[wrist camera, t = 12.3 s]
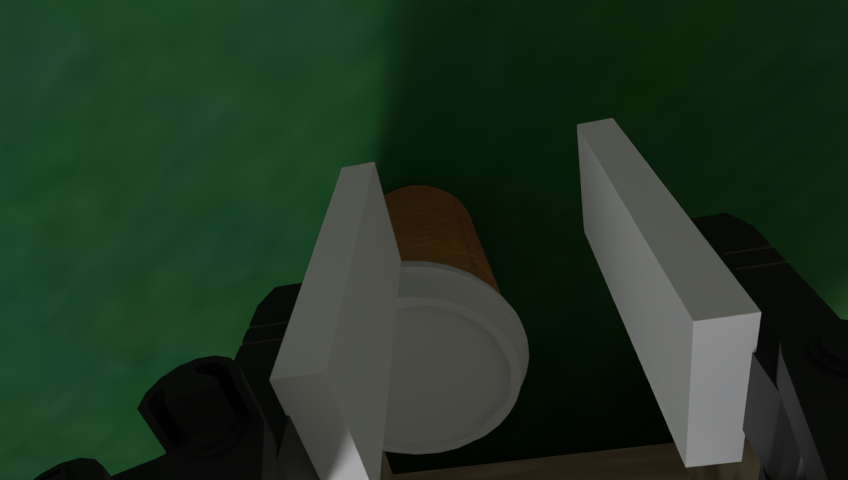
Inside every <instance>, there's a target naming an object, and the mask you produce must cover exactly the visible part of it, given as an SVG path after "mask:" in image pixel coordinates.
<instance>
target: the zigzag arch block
mask: <svg viewBox="0 0 848 480" xmlns="http://www.w3.org/2000/svg"><path fill="white" fill-rule="evenodd" d="M760 465H761V462H760V460H759V458H758V457H757V455H756V453H755V451H754V450H753V448H752V446H751V444H750V443H749V441H748V439H747V437H746V435H745V439H744V446H743V454H742V461H741V462H731V463H722V464H713V465H704V466H694V467H685V465H684V463H683V460H682V458H681V456H680V453H679V451H678V449H677V446H676V444H675V443H666V444H657V445H648V446H640V447H631V448H622V449H613V450H604V451H596V452H587V453H578V454H569V455H560V456H552V457H543V458H534V459H525V460H517V461H508V462H499V463H490V464H481V465H473V466H464V467H455V468H446V469H437V470H429V471H420V472H411V473H402V474H393V473H392V471H391V468H390V465H389V462H388V460H387V457H386V454H385V452H384V450H383V451H382V461H381V472H380V480H758V478H759V472H760Z"/></svg>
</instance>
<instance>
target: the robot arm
mask: <svg viewBox="0 0 848 480" xmlns="http://www.w3.org/2000/svg"><path fill="white" fill-rule="evenodd" d="M577 135H578V149H579V164H580V179H581V193H582V208H583V223H584V232H585V234H586V237H587V239H588V241H589V244H590V246H591V248H592V251H593V253H594V255H595V258H596V260H597V262H598V265H599V267H600V269H601V272H602V274H603V276H604V279H605V281H606V283H607V286H608V288H609V290H610V293H611V295H612V297H613V299H614V302H615V304H616V306H617V309H618V311H619V313H620V316H621V318H622V320H623V323H624V325H625V327H626V330H627V332H628V334H629V337H630V339H631V341H632V344H633V346H634V348H635V351H636V353H637V355H638V358H639V360H640V362H641V365H642V367H643V369H644V372H645V374H646V376H647V379H648V381H649V383H650V386H651V388H652V390H653V393H654V395H655V397H656V400H657V402H658V404H659V407H660V409H661V411H662V414H663V416H664V418H665V421H666V423H667V425H668V428H669V430H670V432H671V435H672V437H673V439H674V442H675V444H676V446H677V449H678V451H679V453H680V456H681V458H682V460H683V463H684V465H685V467H694V466H704V465H713V464H722V463H731V462H741V461H742V454H743V446H744V439H745V435H746V437H747V439H748V441H749V443H750V444H751V446H752V448H753V450H754V451H755V453H756V455H757V457H758V458H759V460H760V462H761V465H760V472H759V478H758V480H848V320H843V319H840V318H839V317H838V316H837V315H836V314H835V313H834V312H833V310H832V309H831V308H830V307H829V306H828V305H827V304H826V303H825V302H824V301H823V300H822V299H821V298H820V297H819V296H818V294H817V293H816V292H815V291H814V290H813V289H812V288H811V287H810V286H809V285H808V284H807V283H806V282H805V281H804V280H803V278H802V277H801V276H800V275H799V274H798V273H797V272H796V271H795V270H794V269H793V268H792V267H791V266H790V265H789V264H788V263H787V264H786V263H785V259H784V258H783V257H782V256H781V255H780V254H779V253H778V252H777V251H776V250H775V249H774V248H771V246H770V243H769V242H768V241H767V240H766V239H765V238H764V237H763V236H762V235H761V234H760V233H759V232H758V231H757V229H756V228H755V227H754V226H752V225H750V224H748V223H746V222H744V221H742V220H740V219H738V218H736V217H734V216H732V215H730V214H727V213H723V214H717V215H711V216H705V217H698V218H692V219H690V218H689V217H688V216H687V214H686V213H685V212H684V210H683V209H682V208H681V207H680V205H679V204H678V203H677V201H676V200H675V199H674V197H673V196H672V195H671V193H670V192H669V191H668V190H667V188H666V187H665V186H664V184H663V183H662V182H661V180H660V179H659V178H658V177H657V175H656V174H655V173H654V171H653V170H652V169H651V167H650V166H649V165H648V163H647V162H646V161H645V160H644V158H643V157H642V156H641V154H640V153H639V152H638V150H637V149H636V148H635V147H634V145H633V144H632V143H631V141H630V140H629V139H628V137H627V136H626V135H625V133H624V132H623V131H622V130H621V128H620V127H619V126H618V124H617V123H616V122H615V120H614V119H613V118H609V119H604V120H598V121H593V122H588V123H582V124H577ZM400 267H401V258H400V254H399V251H398V247H397V243H396V240H395V236H394V232H393V229H392V225H391V221H390V218H389V214H388V210H387V207H386V203H385V199H384V196H383V192H382V188H381V185H380V181H379V177H378V174H377V170H376V166H375V163H374V162H371V163H365V164H360V165H354V166H349V167H343V168H342V169H341V172H340V175H339V178H338V181H337V184H336V187H335V190H334V193H333V196H332V199H331V201H330V204H329V207H328V210H327V213H326V216H325V219H324V222H323V225H322V228H321V231H320V234H319V236H318V239H317V242H316V245H315V248H314V251H313V254H312V257H311V260H310V263H309V266H308V269H307V271H306V274H305V277H304V280H303V283H298V284H292V285H285V286H279V287H275V288H274V289H273V290H272V291H271V292H270V293H269V294H268V295H267V296H266V298H265V299H264V300H263V301H262V302H261V303H260V304H259V305H258V306H257V309H256V311H255V313H254V316H253V318H252V320H251V322H250V325H249V327H250V329H248V330H247V332H246V334H245V336H244V339H243V341H242V343H243V345H242V346H240V348H239V350H238V353H237V355H236V357H235V360H234V361H233V360H232V359H231V358H228V357H222V356H209V357H204V358H198V359H195V360H193V361H190V362H188V363H185V364H183V365H181V366H178V367H177V368H175V369H174V370H172V371H171V372H169V373H168V374H166V375H165V376H163V377H162V378H160V379H159V380H158V381H157V382H156V383H155V384H154V385H153V386H152V387H151V388H150V389H149V390H148V391H147V393H146V394H145V396H144V397H143V399H142V401H141V403H140V405H139V407H138V408H137V409H138V411H139V412H140V414H141V415H142V417H143V418H144V420H145V421H146V423H147V424H148V426H149V427H150V429H151V430H152V432H153V433H154V435H155V436H156V437H157V439H158V440H159V442H160V443H161V445H162V446H163V448H164V449H165V451H166V454H164V455H162V456H160V457H158V458H156V459H154V460H151V461H149V462H146V463H143V464H141V465H138V466H136V467H133V468H131V469H128V470H126V471H123V472H121V473H118V474H116V475H113V476H110V474H109V473H108V472H107V470H106V469H105V468H104V467H103V466H102V465H101V464H100V463H99V462H97V461H96V460H95V459H86V458H78V459H74V460H71V461H67V462H63V463H60V464H58V465H57V466H55V467H53V468H51V469H49V470H47V471H45V472H43V473H42V474H40V475H39V476H37V477H36V478H35V479H34V480H380V472H381V461H382V451H383V441H384V431H385V420H386V410H387V400H388V390H389V380H390V369H391V359H392V349H393V339H394V329H395V318H396V308H397V298H398V288H399V277H400Z"/></svg>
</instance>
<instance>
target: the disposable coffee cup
mask: <svg viewBox="0 0 848 480" xmlns="http://www.w3.org/2000/svg"><path fill="white" fill-rule="evenodd" d="M384 199H385V203H386V207H387V210H388V214H389V218H390V221H391V225H392V229H393V232H394V236H395V240H396V243H397V247H398V251H399V254H400V258H401V267H400V277H399V288H398V298H397V308H396V318H395V329H394V339H393V349H392V359H391V369H390V380H389V390H388V400H387V410H386V420H385V431H384V441H383V450H384V451H387V452H396V453H405V454H415V455H416V454H429V453H440V452H444V451H448V450H453V449H457V448H459V447H461V446H464V445H466V444H468V443H470V442H473V441H475V440H477V439H479V438H482V437H484V436H485V435H487V434H488V433H489V432H490V431H492V430H493V429H494V428H496V427H497V426H498V425H499V424H500V423H501V422H502V421H503V420H504V419H505V418H506V416H507V415H508V414H509V413H510V411H511V410H512V408H513V406H514V404H515V402H516V400H517V397H518V394H519V391H520V387H521V385H522V383H523V381H524V378H525V375H526V372H527V367H528V361H529V349H528V340H527V336H526V333H525V331H524V328H523V325H522V323H521V321H520V319H519V317H518V315H517V313H516V312H515V311H514V309H513V308H512V307H511V306H510V305H509V304H508V302H507V301H506V300H505V299H504V298H503V297H502V296H501V293H500V291H499V288H498V286H497V283H496V281H495V278H494V276H493V274H492V271H491V268H490V266H489V263H488V261H487V258H486V256H485V253H484V250H483V248H482V246H481V243H480V241H479V238H478V236H477V233H476V231H475V228H474V226H473V223H472V220H471V218H470V215H469V213H468V211H467V210H466V208H465V207H464V205H463V204H462V203H461V202H460V201H459V200H458V199H457V198H455V197H454V196H452V195H451V194H449V193H448V192H446V191H444V190H441V189H439V188H436V187H431V186H426V185H413V186H405V187H402V188H399V189H397V190H394V191H392V192H390V193H388V194H386V195H385V196H384Z"/></svg>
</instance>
